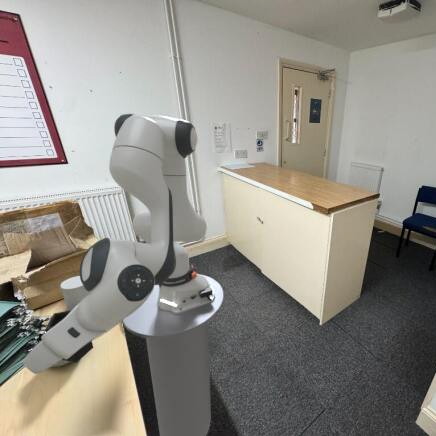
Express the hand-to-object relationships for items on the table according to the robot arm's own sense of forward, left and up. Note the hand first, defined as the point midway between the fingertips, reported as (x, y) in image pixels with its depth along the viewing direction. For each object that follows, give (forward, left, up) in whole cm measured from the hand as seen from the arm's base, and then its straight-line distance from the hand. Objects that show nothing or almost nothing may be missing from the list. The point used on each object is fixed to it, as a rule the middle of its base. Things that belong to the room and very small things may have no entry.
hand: (70, 337), depth 56 cm
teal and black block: (-1, 0, -5) cm, 5 cm away
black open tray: (+11, -31, -21) cm, 39 cm away
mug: (+7, -15, -21) cm, 27 cm away
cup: (+9, -40, -21) cm, 46 cm away
